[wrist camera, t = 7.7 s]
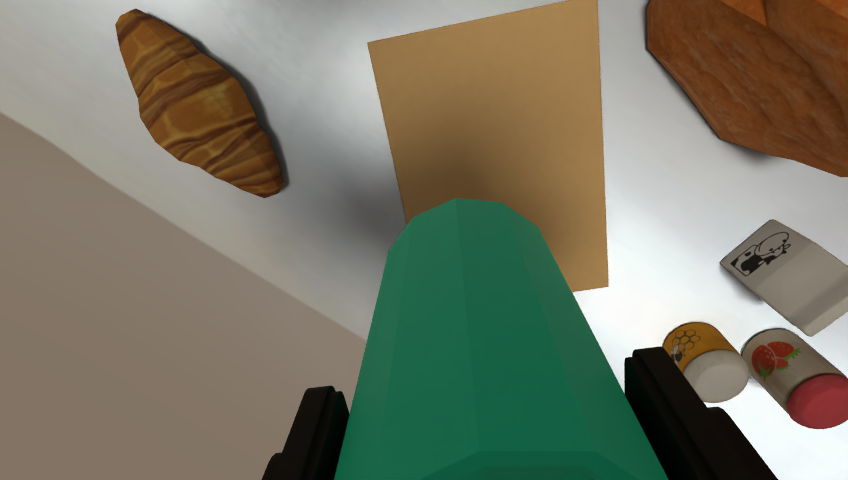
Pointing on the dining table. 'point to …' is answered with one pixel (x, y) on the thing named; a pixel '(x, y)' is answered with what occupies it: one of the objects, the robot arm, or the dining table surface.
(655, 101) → the dining table surface
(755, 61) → the bread
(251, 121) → the croissant
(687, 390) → the robot arm
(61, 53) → the dining table surface
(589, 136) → the place mat
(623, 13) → the dining table surface
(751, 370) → the toy food
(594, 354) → the candle
